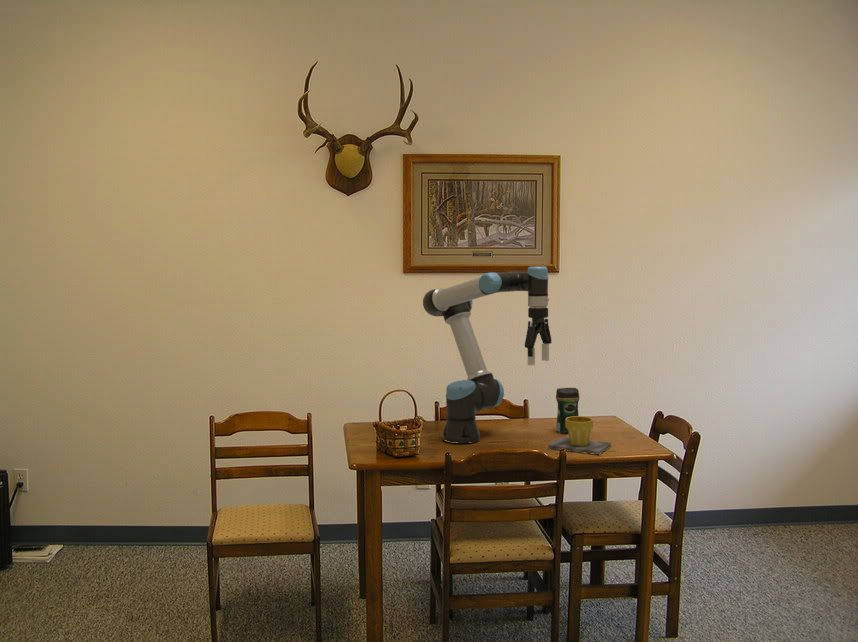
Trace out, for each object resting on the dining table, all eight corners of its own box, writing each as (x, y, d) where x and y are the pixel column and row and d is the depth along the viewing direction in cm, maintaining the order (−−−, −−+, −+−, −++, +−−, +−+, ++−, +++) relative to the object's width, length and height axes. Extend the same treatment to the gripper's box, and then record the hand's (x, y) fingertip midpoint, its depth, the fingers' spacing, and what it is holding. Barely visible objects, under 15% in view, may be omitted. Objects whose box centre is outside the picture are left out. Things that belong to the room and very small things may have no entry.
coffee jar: (576, 429, 304) (576, 385, 303) (581, 433, 297) (581, 389, 295) (554, 430, 304) (553, 386, 302) (558, 434, 296) (558, 390, 294)
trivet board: (547, 448, 274) (547, 445, 274) (561, 440, 286) (561, 436, 286) (599, 455, 264) (599, 451, 263) (610, 446, 275) (610, 442, 275)
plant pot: (566, 447, 270) (565, 421, 269) (564, 440, 280) (564, 415, 279) (594, 447, 269) (594, 422, 268) (591, 440, 279) (591, 415, 278)
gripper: (534, 309, 260) (534, 367, 262) (559, 305, 281) (560, 359, 283) (515, 309, 264) (515, 366, 266) (541, 304, 285) (542, 358, 287)
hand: (538, 362), depth 274 cm, fingers open, 13 cm apart
